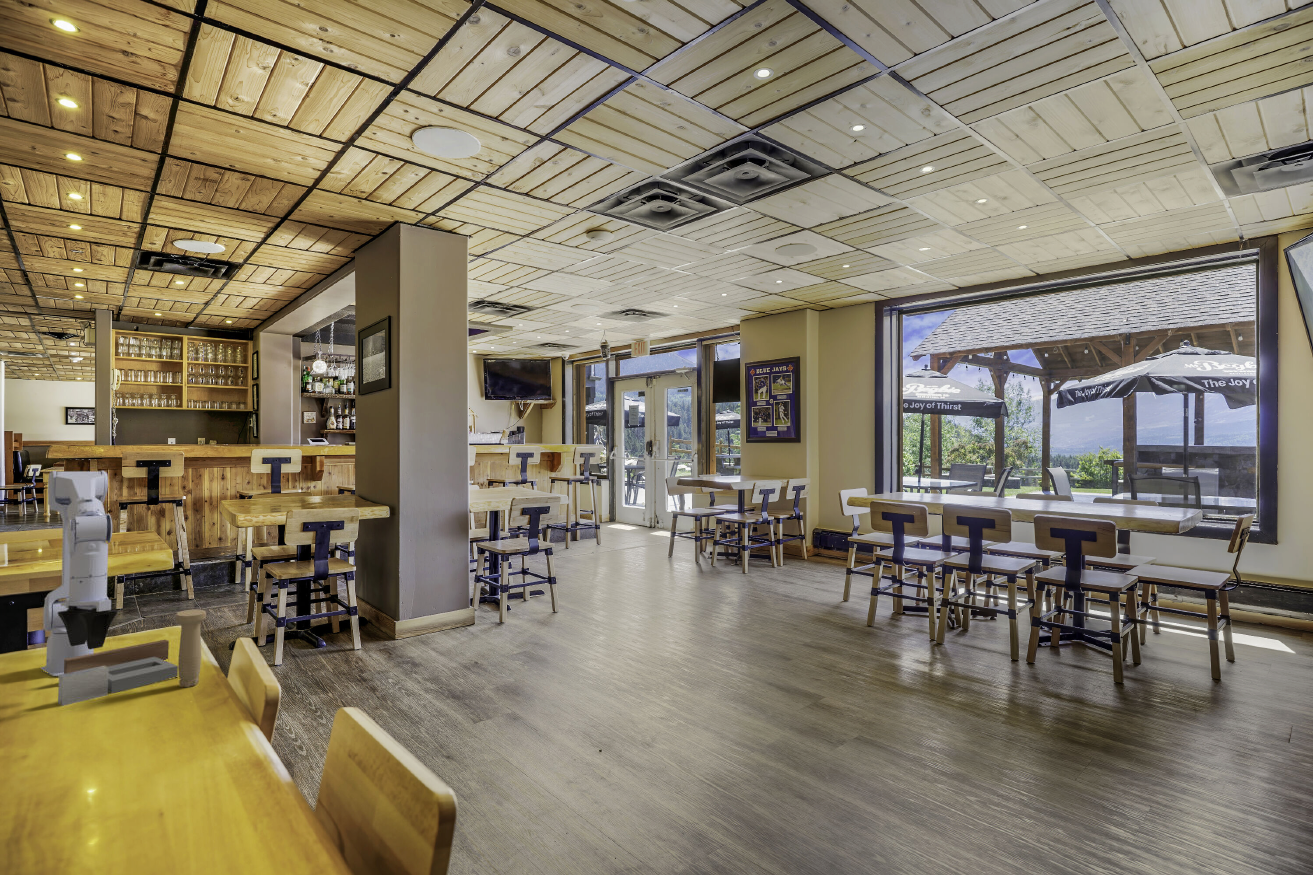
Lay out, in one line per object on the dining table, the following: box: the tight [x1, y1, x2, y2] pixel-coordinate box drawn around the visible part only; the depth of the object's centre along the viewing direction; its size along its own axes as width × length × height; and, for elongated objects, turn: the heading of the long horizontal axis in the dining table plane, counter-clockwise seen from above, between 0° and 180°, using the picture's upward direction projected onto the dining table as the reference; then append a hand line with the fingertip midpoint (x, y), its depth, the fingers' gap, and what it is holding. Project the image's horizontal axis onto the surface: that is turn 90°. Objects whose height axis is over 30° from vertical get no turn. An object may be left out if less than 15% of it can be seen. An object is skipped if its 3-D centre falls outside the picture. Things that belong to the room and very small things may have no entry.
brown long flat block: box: [64, 639, 170, 674], centre depth 144 cm, size 2×18×5 cm, turn 147°
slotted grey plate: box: [108, 657, 179, 694], centre depth 140 cm, size 12×11×2 cm
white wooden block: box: [57, 666, 109, 707], centre depth 129 cm, size 2×7×6 cm, turn 147°
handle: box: [175, 609, 207, 688], centre depth 137 cm, size 5×6×15 cm
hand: (86, 646), depth 129 cm, fingers open, 7 cm apart
